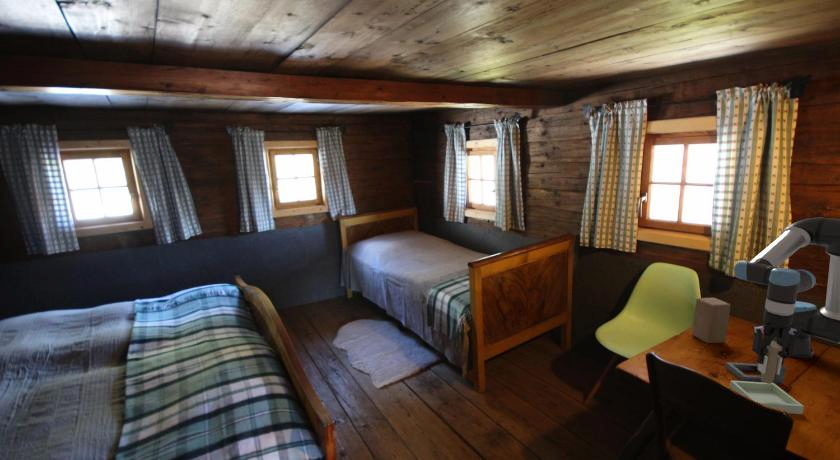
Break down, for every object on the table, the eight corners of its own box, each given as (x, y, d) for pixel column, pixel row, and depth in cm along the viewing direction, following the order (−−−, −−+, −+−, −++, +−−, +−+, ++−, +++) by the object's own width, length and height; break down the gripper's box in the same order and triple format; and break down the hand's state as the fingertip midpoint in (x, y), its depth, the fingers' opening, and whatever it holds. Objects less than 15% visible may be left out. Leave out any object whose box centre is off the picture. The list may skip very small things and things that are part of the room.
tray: (772, 390, 147) (773, 383, 146) (802, 414, 133) (803, 406, 132) (729, 387, 149) (730, 380, 148) (754, 410, 135) (755, 402, 135)
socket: (764, 369, 160) (767, 354, 159) (785, 385, 150) (788, 368, 149) (725, 367, 163) (727, 352, 161) (742, 382, 152) (745, 366, 151)
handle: (758, 383, 139) (764, 345, 136) (757, 375, 143) (763, 339, 141) (776, 388, 136) (783, 349, 133) (774, 380, 140) (781, 342, 138)
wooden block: (690, 334, 193) (695, 297, 189) (709, 333, 194) (714, 296, 190) (707, 344, 183) (712, 305, 179) (726, 343, 184) (732, 304, 180)
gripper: (797, 308, 137) (786, 368, 141) (744, 306, 139) (735, 364, 144) (815, 317, 130) (803, 379, 134) (759, 314, 132) (749, 375, 136)
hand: (768, 371), depth 139 cm, fingers closed on handle, 4 cm apart
